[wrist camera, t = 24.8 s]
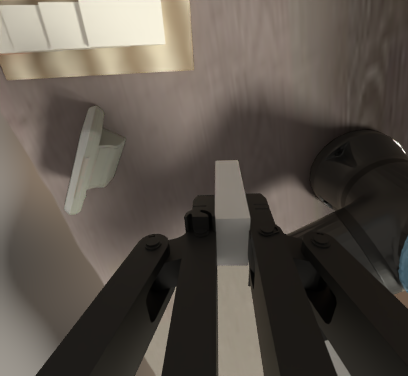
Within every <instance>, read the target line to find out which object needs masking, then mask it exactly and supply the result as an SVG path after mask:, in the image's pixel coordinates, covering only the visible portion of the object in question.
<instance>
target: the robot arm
mask: <svg viewBox="0 0 408 376" xmlns="http://www.w3.org/2000/svg"><path fill="white" fill-rule="evenodd" d="M310 183H311V187H312V189H313V191H314V193H315V194H316V196H317V197H318V198H319V199H320V201H321V202H322V203H324V204H325V205H326V206H328V207H330V208H332V209H334V210H336V211H335V212H332V213H330V214H328V215H326V216H324V217H322V218H320V219H318V220H316V221H314V222H312V223H310V224H308V225H306V226H304V227H302V228H300V229H298V230H295V231H293V232H291V233H289V234H284V233H283V231H282V230H281V228H280V227H278V226H277V225H275V222H274V219H273V217H272V214H271V211H270V209H269V205H268V203H267V200H266V198H265V197H264V196H263V195H262V194H245V191H244V186H243V181H242V177H241V172H240V168H239V163H238V160H223V161H215V195H200V196H197V197H196V198H195V199H194V202H193V208H192V210H191V211H189V212H188V213H186V215H185V217H184V220H185V229H186V234H184V235H183V236H181V237H179V238H176V239H172V240H168V238H167V237H166V236H164V235H161V234H152V235H148V236H146V237H144V238H142V239H141V240H140V241H139V242H138V244H137V245H136V246H135V247H134V249H133V250H132V251H131V253H130V254H129V255H128V257H127V258H126V259H125V260H124V262H123V263H122V264H121V266H120V267H119V268H118V269H117V271H116V272H115V273H114V275H113V276H112V277H111V279H110V280H109V281H108V282H107V284H106V285H105V286H104V288H103V289H102V290H101V291H100V293H99V294H98V295H97V297H96V298H95V299H94V301H93V302H92V303H91V305H90V306H89V307H88V309H87V310H86V311H85V312H84V314H83V315H82V316H81V317H80V319H79V320H78V321H77V323H76V324H75V325H74V326H73V328H72V329H71V330H70V332H69V333H68V334H67V336H66V337H65V338H64V339H63V341H62V342H61V343H60V345H59V346H58V347H57V349H56V350H55V351H54V352H53V354H52V355H51V356H50V358H49V359H48V360H47V361H46V363H45V364H44V365H43V367H42V368H41V369H40V370H39V372H38V373H37V374H36V376H135V374H136V372H137V370H138V368H139V365H140V364H141V361H142V359H143V357H144V355H145V353H146V351H147V348H148V346H149V344H150V342H151V340H152V338H153V335H154V333H155V331H156V329H157V327H158V325H159V322H160V320H161V318H162V316H163V314H164V312H165V309H166V307H167V305H168V303H169V301H170V299H171V296H172V294H173V292H174V290H175V287H176V286H177V288H176V293H175V299H174V305H173V311H172V317H171V323H170V329H169V334H168V340H167V346H166V352H165V358H164V364H163V370H162V375H161V376H218V294H217V265H248V260H249V283H248V286H251V291H252V298H253V305H254V312H255V318H256V325H257V332H258V338H259V345H260V352H261V358H262V365H263V372H264V376H408V309H407V308H406V307H405V306H404V305H403V304H402V303H401V302H400V301H399V300H398V299H397V298H396V297H395V296H394V294H397V293H399V292H402V291H407V293H408V156H407V155H406V153H405V151H404V150H403V148H402V146H401V145H400V144H399V143H398V142H397V141H396V140H394V139H393V138H391V137H389V136H387V135H385V134H383V133H380V132H377V131H372V130H359V131H353V132H350V133H347V134H344V135H342V136H340V137H338V138H336V139H335V140H333V141H332V142H330V143H329V144H328V145H327V146H326V147H325V148H324V149H323V150H322V151H321V152H320V153H319V154H318V156H317V157H316V159H315V161H314V163H313V165H312V168H311V173H310Z"/></svg>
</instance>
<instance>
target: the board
mask: <svg viewBox="0 0 408 376" xmlns="http://www.w3.org/2000/svg"><path fill="white" fill-rule="evenodd" d="M38 2H78V0H0V5H38ZM161 8H162V17H163V26H164V35H165V45H147V46H130V47H116V48H96V49H85V50H64V51H53V52H32V53H25V54H9V55H0V65H1V67H2V70H3V72H4V75H5V77H6V79H7V80H21V79H39V78H57V77H76V76H94V75H112V74H130V73H148V72H167V71H185V70H194V61H193V45H192V30H191V14H190V0H161Z"/></svg>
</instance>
